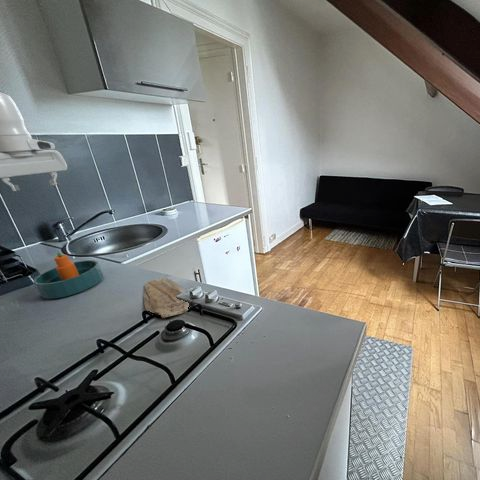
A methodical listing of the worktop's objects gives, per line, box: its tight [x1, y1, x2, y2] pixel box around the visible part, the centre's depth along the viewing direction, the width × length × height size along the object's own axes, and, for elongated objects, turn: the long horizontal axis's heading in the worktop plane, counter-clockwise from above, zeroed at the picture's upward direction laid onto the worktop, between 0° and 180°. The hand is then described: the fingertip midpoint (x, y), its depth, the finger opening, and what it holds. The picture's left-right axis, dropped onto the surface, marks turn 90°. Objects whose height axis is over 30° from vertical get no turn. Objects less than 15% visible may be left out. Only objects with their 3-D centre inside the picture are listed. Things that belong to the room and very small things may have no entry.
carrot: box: [53, 251, 79, 281], centre depth 81 cm, size 4×4×11 cm
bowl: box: [32, 259, 104, 300], centre depth 83 cm, size 15×15×6 cm
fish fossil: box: [142, 277, 190, 319], centre depth 75 cm, size 26×10×1 cm, turn 48°
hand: (36, 188), depth 90 cm, fingers open, 8 cm apart
